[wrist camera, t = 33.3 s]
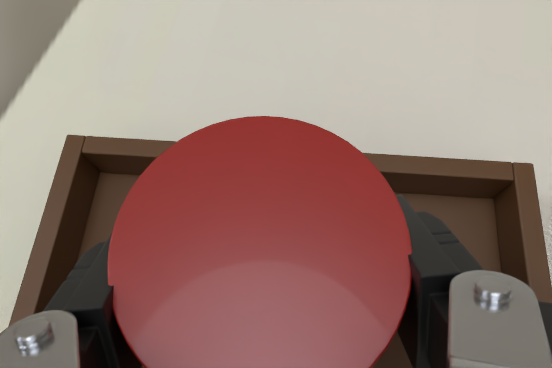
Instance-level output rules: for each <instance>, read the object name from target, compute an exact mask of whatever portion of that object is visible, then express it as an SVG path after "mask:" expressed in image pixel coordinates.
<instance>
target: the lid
mask: <svg viewBox="0 0 552 368" xmlns="http://www.w3.org/2000/svg"><path fill="white" fill-rule="evenodd" d="M409 254H412V246H411V240H410V234H409V229H408V226H407V222H406V219H405V216H404V213H403V210H402V208H401V206H400V204H399V201H398V199H397V197H396V195H395V193H394V192H393V190H392V188H391V187H390V185H389V183H388V182H387V180H386V179H385V178H384V176H383V175H382V174H381V173H380V171H379V170H378V169H377V168H376V166H375V165H374V164H373V163H372V162H371V161H370V160H369V159H368V158H367V157H366V156H365V155H364V154H363V153H362V152H360V151H359V150H358V149H356V148H355V147H354V146H352V145H351V144H350V143H349V142H347V141H345V140H344V139H342V138H340V137H339V136H337V135H335V134H334V133H332V132H329V131H327V130H325V129H323V128H320V127H318V126H316V125H312V124H309V123H306V122H303V121H299V120H294V119H288V118H283V117H270V116H256V117H243V118H237V119H231V120H227V121H223V122H220V123H216V124H212V125H210V126H208V127H205V128H203V129H200V130H198V131H195V132H194V133H192V134H190V135H188V136H186V137H184V138H182V139H181V140H179V141H178V142H176V143H175V144H173V145H172V146H171V147H169V148H168V149H166V150H165V151H164V152H163V153H162V154H161V155H159V156H158V157H157V158H156V159H155V160H154V161H153V162H152V163H151V164H150V165H149V166H148V167H147V168H146V170H145V171H144V172H143V173H142V174H141V175H140V176H139V178H138V179H137V181H136V182H135V184H134V185H133V186H132V188H131V189H130V191H129V193H128V195H127V196H126V198H125V200H124V202H123V204H122V206H121V208H120V211H119V213H118V216H117V218H116V221H115V224H114V227H113V231H112V235H111V239H110V244H109V252H108V261H107V274H108V285H109V286H112V285H114V287H113V312H114V315H115V318H116V322H117V324H118V326H119V328H120V331H121V333H122V335H123V337H124V339H125V341H126V343H127V344H128V346H129V348H130V349H131V351H132V352H133V354H134V355H135V357H136V358H137V360H138V361H139V362H140V363H141V364H142V365H143V366H144V368H372V367H373V366H374V365H375V364H376V362H377V361H378V360H379V358H380V357H381V356H382V355H383V353H384V352H385V351H386V349H387V348H388V346H389V344H390V343H391V341H392V339H393V337H394V336H395V334H396V332H397V330H398V328H399V326H400V324H401V321H402V318H403V316H404V313H405V311H406V307H407V303H408V299H409V295H410V291H411V282H412V273H411V267H410V263H409V258H408V255H409Z"/></svg>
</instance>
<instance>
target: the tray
mask: <svg viewBox="0 0 552 368" xmlns="http://www.w3.org/2000/svg"><path fill="white" fill-rule="evenodd" d="M175 143H176V142H175V141H158V140H142V139H126V138H109V137H93V136H79V135H67V137H66V141H65V144H64V147H63V150H62V154H61V157H60V160H59V163H58V167H57V170H56V173H55V176H54V180H53V183H52V186H51V189H50V193H49V196H48V199H47V203H46V206H45V209H44V212H43V216H42V219H41V222H40V225H39V229H38V232H37V235H36V238H35V242H34V245H33V248H32V251H31V255H30V258H29V261H28V264H27V268H26V271H25V274H24V277H23V281H22V284H21V287H20V291H19V294H18V297H17V300H16V304H15V307H14V310H13V313H12V317H11V320H10V323H9V326H11V325H12V324H14V323H15V322H17V321H19V320H21V319H23V318H25V317H28V316H30V315H33V314H36V313H40V312H43V310H44V309H45V307H46V306H47V305H48V303H49V302H50V300H51V299H52V297H53V296H54V295H55V293H56V292H57V290H58V289H59V287H60V286H61V284H62V283H63V282H64V281H66V277H67V276H68V274H69V273H70V272H71V270H74V266H75V264H76V263H77V262H78V260H79V259H80V257H81V256H82V254H84V253H85V252H86V251H88V250H89V249H91V248H92V247H93V246H95V245H96V244H97V243H99V242H106V241H107V239H108V238H109V236H110V235H111V233H112V231H113V227H114V224H115V221H116V218H117V216H118V213H119V211H120V208H121V206H122V204H123V202H124V200H125V198H126V196H127V195H128V193H129V191H130V189H131V188H132V186H133V185H134V184H135V182H136V181H137V179H138V178H139V176H140V175H141V174H142V173H143V172H144V171H145V170H146V168H147V167H148V166H149V165H150V164H151V163H152V162H153V161H154V160H155V159H156V158H157V157H158V156H159V155H161V154H162V153H163V152H164V151H165V150H166V149H168V148H169V147H171V146H172V145H173V144H175ZM363 154H364V155H365V156H366V157H367V158H368V159H369V160H370V161H371V162H372V163H373V164H374V165H375V166H376V168H377V169H378V170H379V171H380V173H381V174H382V175H383V176H384V178H385V179H386V180H387V182H388V183H389V185H390V187H391V188H392V190H393V192H394V193H395V195H400V194H401V195H403V197H404V198H405V199H406V200H407V202H408V203H409V204H410V206H411V207H412V208H413V210H414V211H415V212H423V211H426V212H427V213H429V214H431V215H433V216H435V217H437V218H439V219H441V220H442V221H443V222H444V223H445V224H446V226H447V227H448V228H449V229H450V230H451V233H453V234H454V235H455V236H456V237H457V238H458V240H459V243H462V244H463V246H464V247H465V248H466V249H467V250H468V251H469V253H470V254H471V255H472V256H473V257H474V258H475V260H476V261H477V262H478V263H479V264H480V265H481V267H482V268H483V269H484V270H487V271H495V272H500V273H504V274H507V275H510V276H512V277H514V278H517V279H519V280H520V281H522V282H524V283H525V284H526V285H528V286H529V287H530V288H531V289H532V290H533V291H534V293H535V294H536V297H537V300H538V301H540V302H547V303H552V287H551V280H550V273H549V267H548V260H547V253H546V247H545V240H544V233H543V227H542V220H541V214H540V207H539V200H538V194H537V187H536V180H535V174H534V167H533V164H531V163H511V162H500V161H484V160H467V159H451V158H435V157H418V156H402V155H386V154H370V153H363ZM9 326H8V327H9ZM142 368H144V366H143V365H142ZM372 368H413V367H412V365H411V362H410V360H409V358H408V355H407V353H406V351H405V348H404V346H403V344H402V341H401V339H400V337H399V334H398V332H396V334H395V336H394V337H393V339H392V341H391V343H390V344H389V346H388V348H387V349H386V351H385V352H384V353H383V355H382V356H381V357H380V358H379V360H378V361H377V362H376V364H375V365H374V366H373V367H372Z"/></svg>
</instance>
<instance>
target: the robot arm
mask: <svg viewBox="0 0 552 368" xmlns="http://www.w3.org/2000/svg"><path fill="white" fill-rule="evenodd" d="M396 197H397V199H398V201H399V204H400V206H401V208H402V210H403V213H404V216H405V219H406V222H407V226H408V229H409V234H410V240H411V246H412V254H409V255H408V258H409V263H410V267H411V273H412V282H411V291H410V295H409V299H408V303H407V307H406V311H405V313H404V316H403V318H402V321H401V324H400V326H399V328H398V330H397V332H398V334H399V337H400V339H401V341H402V344H403V346H404V348H405V351H406V353H407V355H408V358H409V360H410V362H411V365H412V367H413V368H552V303H547V302H540V301H538V300H537V297H536V294H535V293H534V291H533V290H532V289H531V288H530V287H529V286H528V285H526V284H525V283H524V282H522V281H520V280H519V279H517V278H514V277H512V276H510V275H507V274H504V273H500V272H495V271H487V270H484V269H483V268H482V267H481V265H480V264H479V263H478V262H477V261H476V260H475V258H474V257H473V256H472V255H471V254H470V253H469V251H468V250H467V249H466V248H465V247H464V246H463V244H462V243H459V240H458V238H457V237H456V236H455V235H454V234H453V233H451V230H450V229H449V228H448V227H447V226H446V224H445V223H444V222H443V221H442V220H441V219H439V218H437V217H435V216H433V215H431V214H429V213H427V212H426V211H423V212H415V211H414V210H413V208H412V207H411V206H410V204H409V203H408V202H407V200H406V199H405V198H404V197H403V195H401V194H400V195H396ZM111 235H112V233H111ZM111 235H110V236H109V238H108V239H107V241H106V242H99V243H97V244H96V245H95V246H93V247H92V248H91V249H89V250H88V251H86V252H85V253H84V254H82V256H81V257H80V259H79V260H78V262H77V263H76V264H75V266H74V270H71V272H70V273H69V274H68V276H67V277H66V281H64V282H63V283H62V284H61V286H60V287H59V289H58V290H57V292H56V293H55V295H54V296H53V297H52V299H51V300H50V302H49V303H48V305H47V306H46V307H45V309H44V310H43V312H40V313H36V314H33V315H30V316H28V317H25V318H23V319H21V320H19V321H17V322H15V323H14V324H12V325H11V326H9V327H8V328H6V329H5V330H4V331H3V332H2V333H0V368H142V364H141V363H140V362H139V361H138V360H137V358H136V357H135V355H134V354H133V352H132V351H131V349H130V348H129V346H128V344H127V343H126V341H125V339H124V337H123V335H122V333H121V331H120V328H119V326H118V324H117V322H116V318H115V315H114V312H113V287H114V285H112V286H109V285H108V274H107V261H108V252H109V244H110V239H111Z"/></svg>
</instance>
